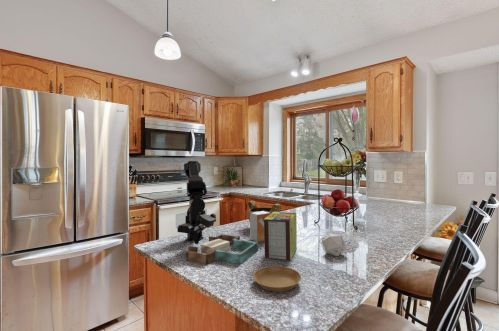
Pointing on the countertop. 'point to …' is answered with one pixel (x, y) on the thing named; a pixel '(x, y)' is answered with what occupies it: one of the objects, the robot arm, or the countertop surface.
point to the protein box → (280, 235)
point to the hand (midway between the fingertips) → (196, 244)
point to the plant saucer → (277, 278)
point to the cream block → (215, 246)
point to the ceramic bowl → (262, 208)
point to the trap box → (224, 255)
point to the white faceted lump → (334, 244)
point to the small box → (257, 225)
